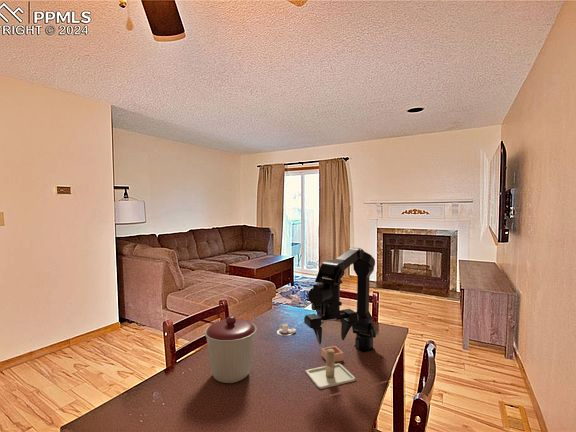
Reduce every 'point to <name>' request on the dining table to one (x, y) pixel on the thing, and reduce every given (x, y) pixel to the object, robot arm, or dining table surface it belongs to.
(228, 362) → the canister
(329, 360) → the dowel
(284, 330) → the teacup and saucer
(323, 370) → the tray
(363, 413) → the dining table surface
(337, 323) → the dining table surface
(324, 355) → the orange open box
